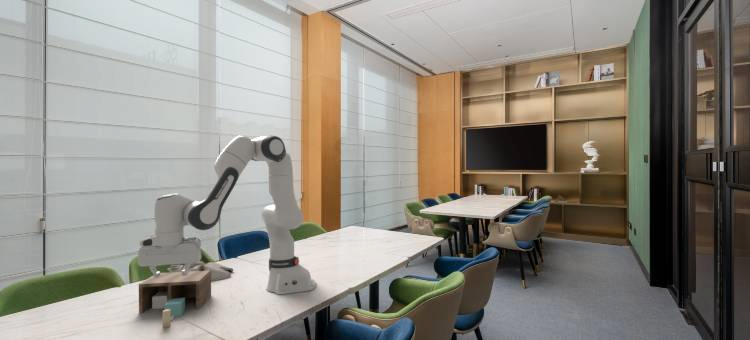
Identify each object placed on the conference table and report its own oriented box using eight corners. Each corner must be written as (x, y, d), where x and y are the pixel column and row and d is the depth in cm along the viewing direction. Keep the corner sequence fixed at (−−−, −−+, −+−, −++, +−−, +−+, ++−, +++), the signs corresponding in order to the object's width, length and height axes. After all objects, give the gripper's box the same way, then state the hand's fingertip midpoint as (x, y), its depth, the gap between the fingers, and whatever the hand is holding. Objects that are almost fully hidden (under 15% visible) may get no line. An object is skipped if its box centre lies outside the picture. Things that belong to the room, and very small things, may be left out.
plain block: (173, 302, 139) (173, 290, 139) (167, 308, 133) (167, 295, 133) (159, 303, 138) (158, 291, 138) (152, 309, 133) (152, 296, 133)
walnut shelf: (211, 295, 146) (210, 270, 146) (199, 308, 132) (199, 280, 132) (156, 299, 143) (156, 273, 143) (138, 312, 129) (138, 284, 129)
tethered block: (185, 310, 131) (184, 296, 131) (174, 326, 117) (174, 310, 117) (169, 312, 129) (169, 297, 129) (156, 329, 116) (156, 312, 116)
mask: (174, 257, 178) (234, 253, 186) (174, 274, 178) (234, 269, 186) (161, 267, 158) (229, 263, 167) (161, 286, 158) (229, 281, 167)
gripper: (203, 235, 125) (204, 271, 126) (143, 238, 122) (145, 275, 122) (197, 238, 119) (198, 276, 119) (134, 242, 116) (135, 281, 116)
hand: (171, 276), depth 121 cm, fingers open, 8 cm apart
